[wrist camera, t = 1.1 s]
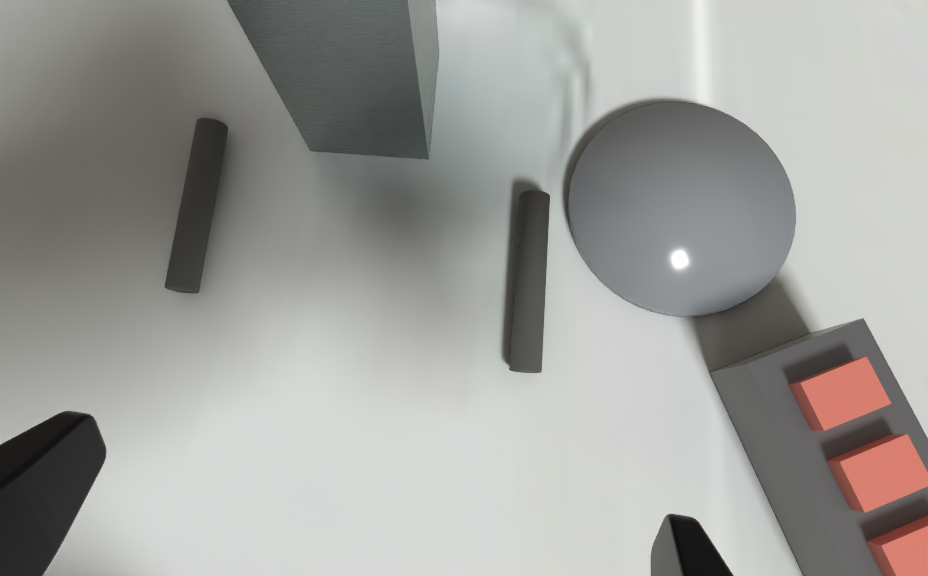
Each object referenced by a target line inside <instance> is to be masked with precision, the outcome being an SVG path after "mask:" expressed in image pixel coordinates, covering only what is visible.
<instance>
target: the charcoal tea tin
mask: <svg viewBox="0 0 928 576" xmlns="http://www.w3.org/2000/svg"><path fill="white" fill-rule="evenodd" d="M227 1H228V3H229V5H230V7H231V8H232V10H233V12H234V14H235V16H236V17H237V19H238V21H239V23H240V25H241V26H242V28H243V30H244V32H245V34H246V35H247V37H248V39H249V41H250V43H251V44H252V46H253V48H254V50H255V52H256V54H257V55H258V57H259V59H260V61H261V63H262V64H263V66H264V68H265V70H266V72H267V73H268V75H269V77H270V79H271V81H272V82H273V84H274V86H275V88H276V90H277V91H278V93H279V95H280V97H281V99H282V100H283V102H284V104H285V106H286V108H287V109H288V111H289V113H290V115H291V117H292V118H293V120H294V122H295V124H296V126H297V128H298V129H299V131H300V133H301V135H302V137H303V138H304V140H305V142H306V144H307V146H308V147H309V149H310V151H319V152H333V153H347V154H362V155H376V156H390V157H404V158H418V159H429V152H430V142H431V132H432V121H433V111H434V101H435V91H436V80H437V70H438V60H439V45H438V31H437V16H436V2H435V0H227Z"/></svg>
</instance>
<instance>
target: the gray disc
mask: <svg viewBox="0 0 928 576" xmlns="http://www.w3.org/2000/svg"><path fill="white" fill-rule="evenodd" d="M568 218H569V223H570V228H571V233H572V235H573V238H574V241H575V244H576V246H577V248H578V250H579V252H580V254H581V256H582V258H583V260H584V261H585V262H586V264H587V265H588V267H589V268H590V270H591V271H592V272H593V273H594V274H595V276H596V277H597V278H598V279H599V280H600V281H601V282H602V283H603V284H604V285H605V286H607V287H608V288H609V289H610V290H611V291H612V292H614V293H615V294H617V295H618V296H620V297H621V298H623V299H624V300H626V301H628V302H630V303H632V304H634V305H636V306H638V307H640V308H643V309H646V310H648V311H651V312H655V313H659V314H663V315H668V316H679V317H696V316H703V315H709V314H714V313H717V312H721V311H724V310H727V309H729V308H731V307H733V306H735V305H738V304H740V303H742V302H744V301H746V300H748V299H749V298H751V297H752V296H754V295H755V294H757V293H758V292H759V291H761V290H762V289H763V288H764V287H765V286H766V285H767V284H769V282H770V281H771V280H772V279H773V278H774V277H775V275H776V274H777V273H778V272H779V270H780V268H781V267H782V265H783V263H784V262H785V260H786V258H787V255H788V253H789V251H790V248H791V245H792V241H793V237H794V232H795V224H796V209H795V201H794V195H793V191H792V188H791V185H790V181H789V179H788V176H787V174H786V172H785V170H784V168H783V166H782V164H781V163H780V161H779V159H778V158H777V156H776V154H775V153H774V152H773V151H772V149H771V148H770V147H769V146H768V144H767V143H766V142H765V141H764V140H763V139H762V138H761V137H760V136H759V135H758V134H757V133H755V132H754V131H753V130H752V129H750V128H749V127H748V126H746V125H745V124H744V123H742V122H740V121H739V120H737V119H735V118H734V117H732V116H730V115H728V114H725V113H723V112H721V111H719V110H716V109H713V108H710V107H707V106H702V105H698V104H693V103H683V102H663V103H656V104H650V105H646V106H642V107H639V108H636V109H633V110H631V111H629V112H626V113H624V114H622V115H620V116H619V117H617V118H615V119H614V120H612V121H611V122H609V123H608V124H607V125H606V126H604V127H603V128H602V129H601V130H600V131H599V132H598V133H597V134H596V135H595V136H594V137H593V138H592V139H591V141H590V142H589V143H588V145H587V146H586V147H585V149H584V151H583V153H582V154H581V156H580V158H579V160H578V162H577V165H576V167H575V170H574V173H573V175H572V178H571V182H570V187H569V192H568Z"/></svg>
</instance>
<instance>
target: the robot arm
mask: <svg viewBox="0 0 928 576" xmlns="http://www.w3.org/2000/svg"><path fill="white" fill-rule="evenodd" d="M105 458H106V446H105V443H104V441H103V438H102V436H101V433H100V430H99V428H98V425H97V423H96V420H95V419H94V417H93V416H91V415H90V414H85V413H79V412H73V411H65V412H62V413H59V414H57V415H55V416H53V417H51V418H50V419H48V420H46V421H44V422H42V423H40V424H38V425H36V426H35V427H33V428H31V429H29V430H27V431H25V432H23V433H21V434H20V435H18V436H16V437H14V438H12V439H10V440H8V441H6V442H5V443H3V444H1V445H0V576H42V575H43V574H44V572H45V571H46V569H47V568H48V566H49V564H50V563H51V561H52V559H53V558H54V556H55V555H56V553H57V551H58V549H59V548H60V546H61V544H62V542H63V541H64V539H65V537H66V535H67V533H68V531H69V529H70V527H71V525H72V523H73V522H74V520H75V518H76V516H77V514H78V512H79V510H80V508H81V506H82V504H83V502H84V500H85V498H86V497H87V495H88V493H89V491H90V489H91V487H92V485H93V483H94V481H95V479H96V477H97V475H98V474H99V472H100V470H101V468H102V466H103V464H104V461H105ZM651 576H733V574H732V573H731V571H730V569H729V568H728V566H727V565H726V563H725V562H724V560H723V559H722V557H721V556H720V554H719V552H718V551H717V549H716V548H715V546H714V545H713V543H712V542H711V540H710V539H709V537H708V535H707V534H706V532H705V531H704V529H703V528H702V526H701V525H700V523H699V522H698V521H697V520H696V519H694V518H692V517H688V516H682V515H676V514H668V515H667V516H666V517H665V518H664V520H663V522H662V525H661V527H660V529H659V532H658V534H657V536H656V539H655V541H654V543H653V546H652V551H651Z"/></svg>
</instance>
